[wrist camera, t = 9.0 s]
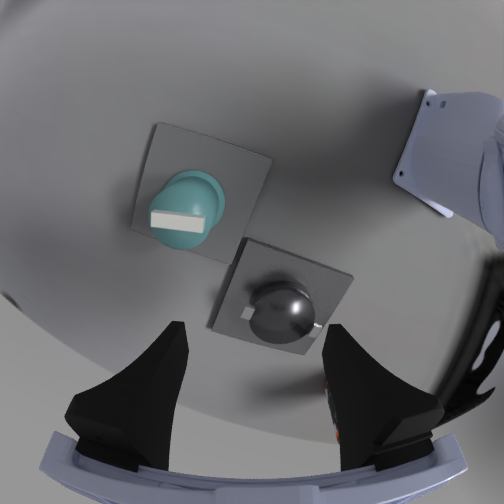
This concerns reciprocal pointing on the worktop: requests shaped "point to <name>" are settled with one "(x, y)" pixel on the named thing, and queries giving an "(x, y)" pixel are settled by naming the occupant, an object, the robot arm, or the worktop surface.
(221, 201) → the cap
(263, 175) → the pad
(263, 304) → the rotary selector switch
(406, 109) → the worktop surface
